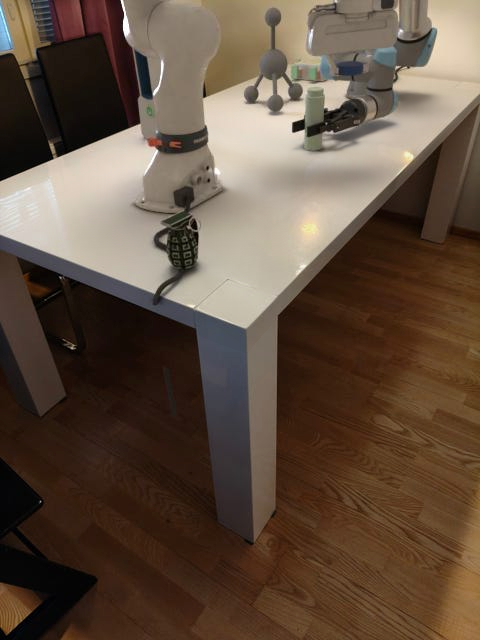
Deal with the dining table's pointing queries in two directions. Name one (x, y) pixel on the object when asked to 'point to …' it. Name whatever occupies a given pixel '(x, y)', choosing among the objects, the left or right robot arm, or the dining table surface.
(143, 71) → the electronic device
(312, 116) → the jar
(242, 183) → the dining table surface
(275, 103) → the molecular model
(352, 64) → the lid
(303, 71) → the decorative block
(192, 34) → the left robot arm
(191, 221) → the grenade
